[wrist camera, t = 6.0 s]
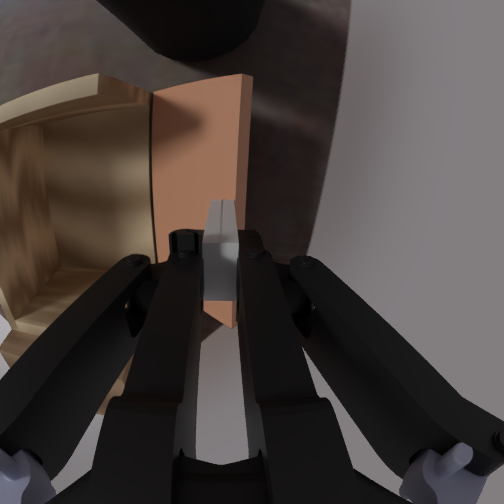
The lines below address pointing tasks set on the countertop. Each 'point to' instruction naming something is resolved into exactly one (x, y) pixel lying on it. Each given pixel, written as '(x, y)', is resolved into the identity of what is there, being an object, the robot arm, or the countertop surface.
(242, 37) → the coffee jar
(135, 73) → the countertop surface
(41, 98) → the box
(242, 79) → the panel
